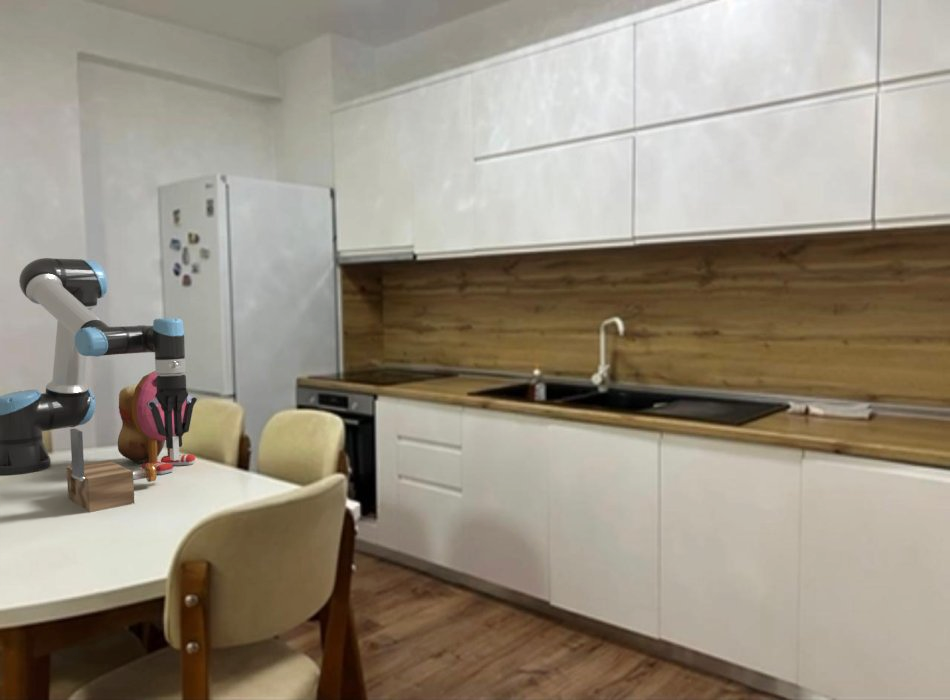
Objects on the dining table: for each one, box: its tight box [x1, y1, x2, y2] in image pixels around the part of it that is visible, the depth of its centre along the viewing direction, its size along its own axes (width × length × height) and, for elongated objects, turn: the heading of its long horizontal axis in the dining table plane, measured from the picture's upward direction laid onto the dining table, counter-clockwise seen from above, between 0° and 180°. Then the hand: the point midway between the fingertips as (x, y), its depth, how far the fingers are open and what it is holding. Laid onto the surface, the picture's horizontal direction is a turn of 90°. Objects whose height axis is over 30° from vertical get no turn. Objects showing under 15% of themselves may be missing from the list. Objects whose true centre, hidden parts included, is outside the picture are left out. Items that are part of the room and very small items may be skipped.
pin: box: [131, 463, 157, 483], centre depth 178 cm, size 15×5×5 cm, turn 135°
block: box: [66, 460, 135, 513], centre depth 171 cm, size 18×10×8 cm, turn 45°
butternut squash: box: [117, 383, 166, 464], centre depth 213 cm, size 14×13×25 cm
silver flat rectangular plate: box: [69, 428, 86, 482], centre depth 163 cm, size 7×1×12 cm, turn 45°
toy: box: [132, 370, 196, 475], centre depth 204 cm, size 21×10×30 cm, turn 168°
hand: (174, 459), depth 188 cm, fingers closed
